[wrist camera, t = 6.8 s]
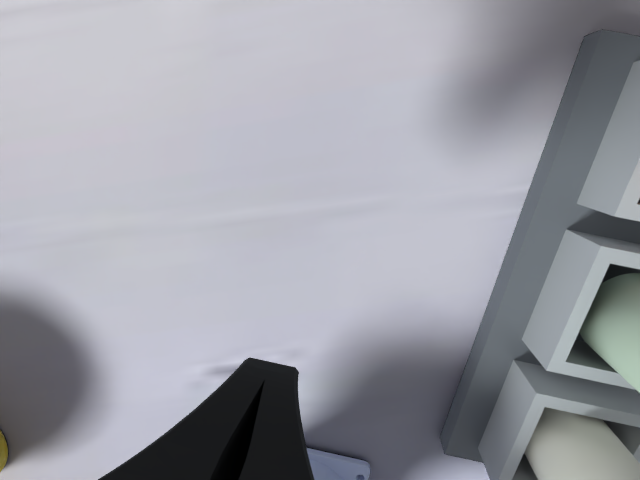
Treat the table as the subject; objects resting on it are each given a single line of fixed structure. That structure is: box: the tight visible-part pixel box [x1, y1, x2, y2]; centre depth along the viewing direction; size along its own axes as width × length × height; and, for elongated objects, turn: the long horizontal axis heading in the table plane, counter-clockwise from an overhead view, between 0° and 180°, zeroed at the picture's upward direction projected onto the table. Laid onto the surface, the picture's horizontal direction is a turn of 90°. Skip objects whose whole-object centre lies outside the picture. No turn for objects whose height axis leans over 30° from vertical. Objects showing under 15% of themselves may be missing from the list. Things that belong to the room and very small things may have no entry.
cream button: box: [524, 407, 640, 480], centre depth 18 cm, size 4×4×4 cm
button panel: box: [440, 29, 640, 480], centre depth 17 cm, size 22×9×4 cm, turn 169°
